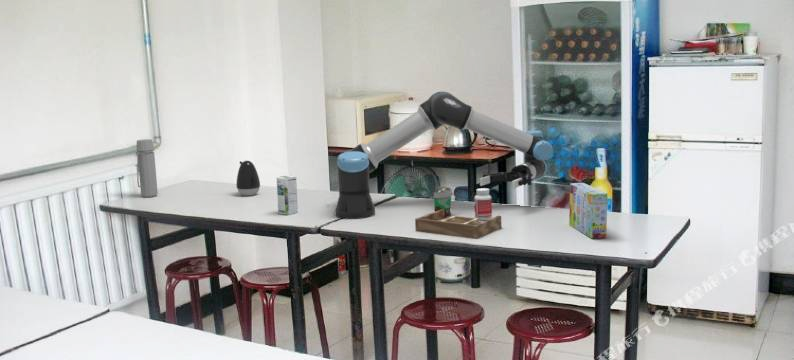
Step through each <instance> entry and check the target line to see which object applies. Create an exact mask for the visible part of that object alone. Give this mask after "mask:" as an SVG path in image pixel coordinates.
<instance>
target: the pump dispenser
mask: <svg viewBox="0 0 794 360" xmlns="http://www.w3.org/2000/svg"><path fill="white" fill-rule="evenodd" d="M239 164H240V165H239V168H238V171H237V176H236V189H237V191H238V193H239V194H240V195H241V196H243V197H250V196H251V197H253V196H255V195H257V194H258V193H259V191H260V187H261V181H260V177H259V174H258V171H257V168H256V166H255V164H254V163H253V162H252V161H250V160H244V161H241V160H240V161H239Z"/></svg>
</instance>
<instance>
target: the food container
mask: <svg viewBox="0 0 794 360" xmlns="http://www.w3.org/2000/svg"><path fill="white" fill-rule="evenodd" d="M437 188H438V190H436V191H435V192H433V203H434V206H433V207H434V208H433V209H434V212H436V211H438V210H441V209H443V210H444V214H445V218H449V217H451V205H452V204H451V203H452V201H451V200H452V196H453V195H454V193H453V190H452V188H451V187H449V186H437Z"/></svg>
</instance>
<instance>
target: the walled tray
mask: <svg viewBox="0 0 794 360" xmlns="http://www.w3.org/2000/svg"><path fill="white" fill-rule="evenodd" d="M414 220H415V222H414V223H415V231H416V232H422V233H430V234H438V235H439V234H440V235H445V236H451V237H452V236H454V237H461V238H470V239H479V238H481V237H482V238H483V237H484V236H486V235H488V234H490V233H493V232H495V231H498V230H499V229H502V215H497V216H494V217H492V218H491V219H489V220H485V221H480V220H479V218H475V217H472V216H471V217H469V216H460V215H452V216H449V217H446V218H445V214H444V210H443V209H441V210H438V211H436V212H435V211H434V212H431V213H427V214H425V215H423V216H420V217H417V218H415V219H414Z"/></svg>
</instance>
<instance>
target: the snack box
mask: <svg viewBox="0 0 794 360" xmlns="http://www.w3.org/2000/svg"><path fill="white" fill-rule="evenodd" d="M568 216H569V219H568V220H569V223H568V224H569V226H570V227H572V228H573V229H574V230H577V231H578V232H580V233H582V234H583V235H586V237H588V238H590V239H592V240H595V239H606V238H607V222H608V220H607V219H608V218H607V217H608V193H607V192H605V191H604V190H603V191H602V190H601V189H598V188H596V187H593V186H591V185H589V184H587V183H585V182H573V183H569V215H568Z"/></svg>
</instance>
